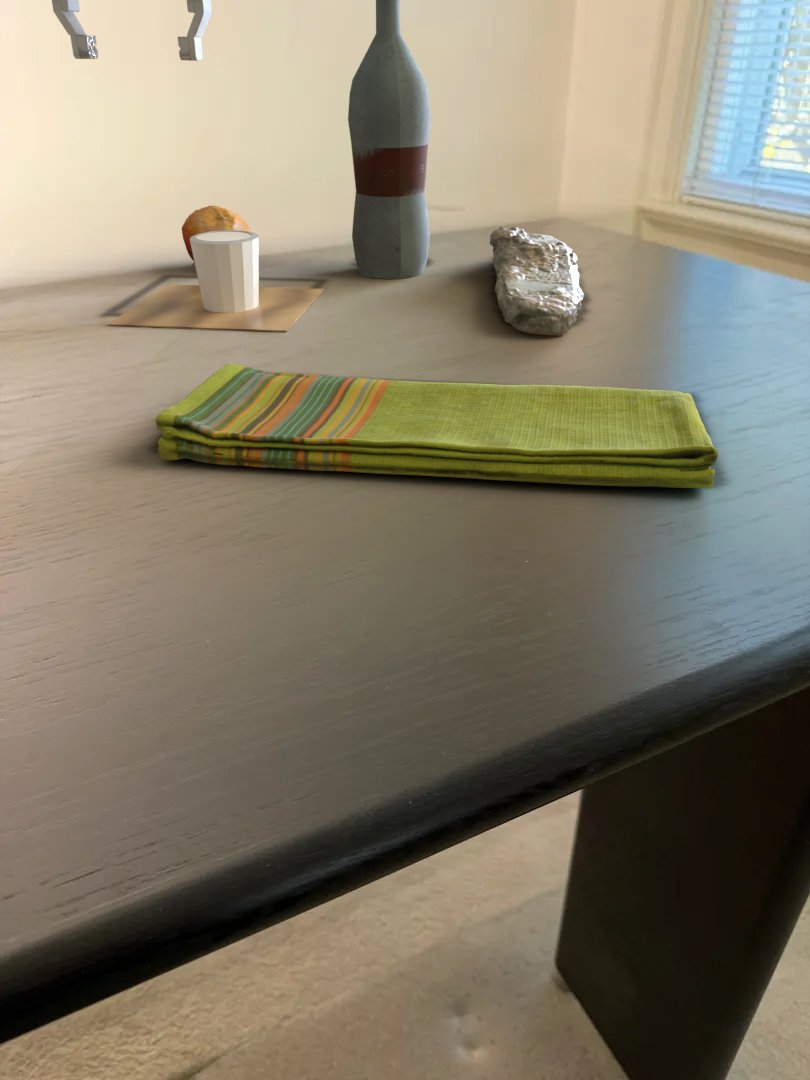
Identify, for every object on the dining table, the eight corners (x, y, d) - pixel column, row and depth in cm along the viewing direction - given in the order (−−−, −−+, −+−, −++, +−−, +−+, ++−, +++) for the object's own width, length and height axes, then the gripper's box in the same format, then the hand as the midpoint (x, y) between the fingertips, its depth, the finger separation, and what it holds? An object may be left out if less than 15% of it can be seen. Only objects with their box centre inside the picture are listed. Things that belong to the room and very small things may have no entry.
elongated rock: (484, 351, 83) (591, 359, 82) (489, 295, 80) (600, 303, 80) (487, 251, 112) (566, 256, 112) (491, 207, 109) (572, 212, 109)
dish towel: (229, 385, 71) (225, 346, 70) (686, 407, 66) (693, 366, 65) (153, 465, 58) (145, 419, 57) (716, 500, 53) (726, 451, 52)
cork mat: (107, 325, 87) (107, 324, 87) (168, 285, 100) (168, 284, 100) (286, 332, 84) (286, 330, 84) (323, 290, 98) (323, 288, 98)
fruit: (223, 243, 113) (234, 190, 107) (253, 285, 111) (266, 233, 104) (165, 252, 109) (173, 197, 103) (195, 296, 106) (205, 243, 100)
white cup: (218, 318, 88) (210, 245, 84) (186, 304, 93) (177, 235, 89) (277, 306, 92) (272, 236, 88) (243, 293, 96) (236, 226, 93)
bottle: (356, 262, 110) (347, -24, 95) (430, 262, 110) (432, -25, 95) (349, 280, 102) (338, -29, 87) (429, 280, 102) (431, -30, 87)
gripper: (254, -136, 71) (266, 60, 78) (13, -134, 73) (45, 57, 80) (230, -151, 65) (245, 62, 72) (-29, -148, 68) (9, 58, 75)
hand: (138, 59), depth 76 cm, fingers open, 8 cm apart
